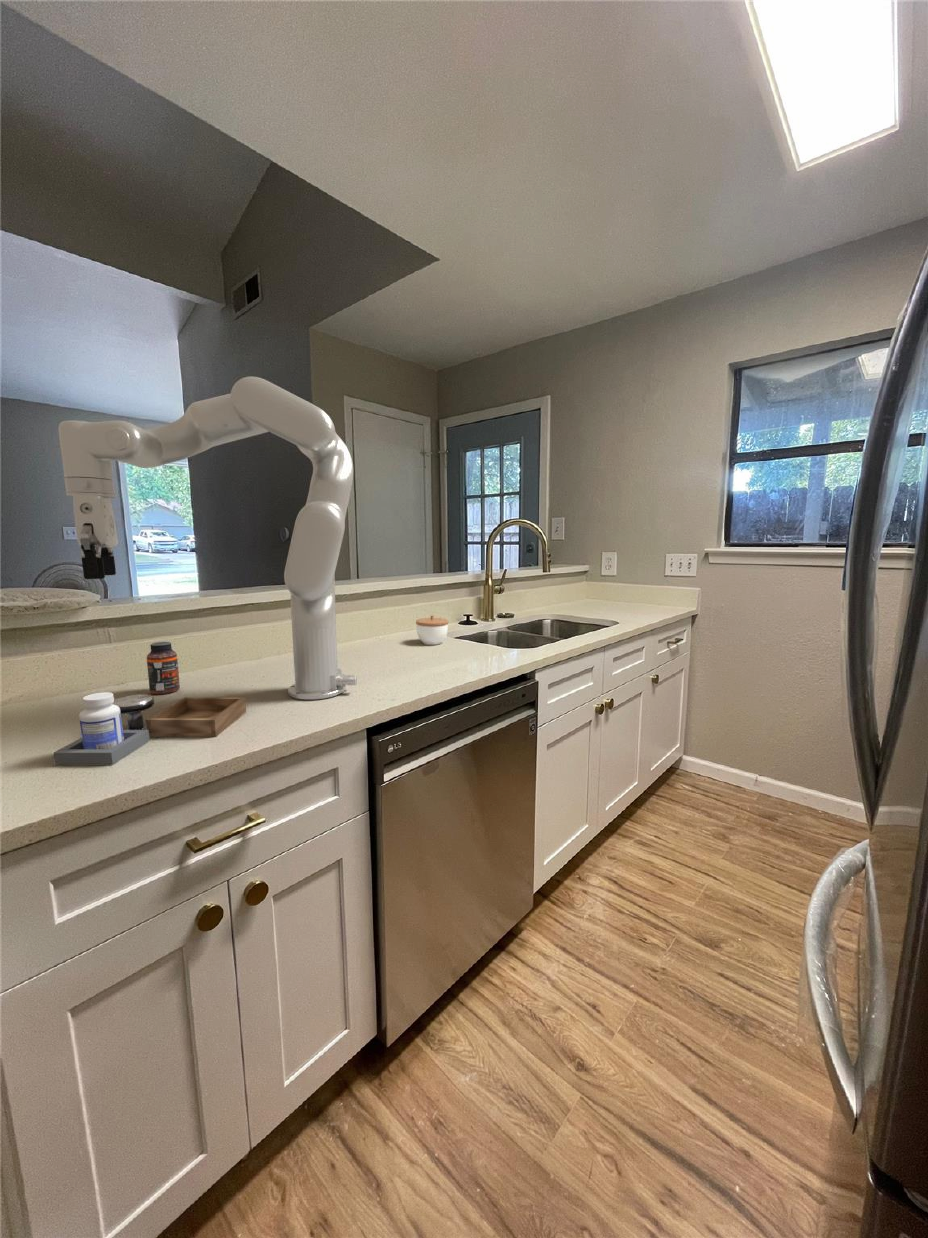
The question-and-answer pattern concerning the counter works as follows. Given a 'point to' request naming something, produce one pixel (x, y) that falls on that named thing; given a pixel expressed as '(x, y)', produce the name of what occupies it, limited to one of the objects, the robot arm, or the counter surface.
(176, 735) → the tray
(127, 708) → the metal mushroom knob
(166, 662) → the supplement bottle
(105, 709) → the pill bottle
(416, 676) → the counter surface
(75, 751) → the socket collar
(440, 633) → the lidded jar
